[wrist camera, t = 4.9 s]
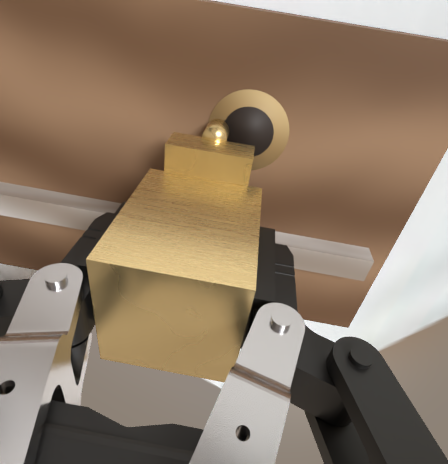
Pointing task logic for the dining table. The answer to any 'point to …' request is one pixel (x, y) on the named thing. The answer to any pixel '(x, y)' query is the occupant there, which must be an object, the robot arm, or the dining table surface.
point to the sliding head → (181, 260)
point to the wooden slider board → (230, 111)
